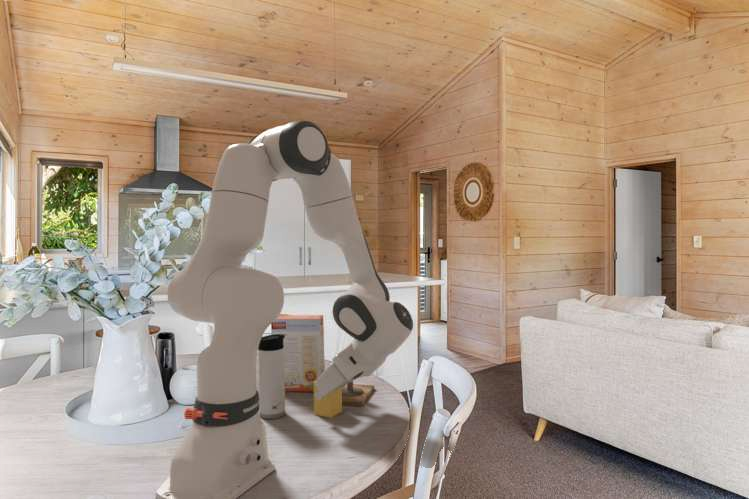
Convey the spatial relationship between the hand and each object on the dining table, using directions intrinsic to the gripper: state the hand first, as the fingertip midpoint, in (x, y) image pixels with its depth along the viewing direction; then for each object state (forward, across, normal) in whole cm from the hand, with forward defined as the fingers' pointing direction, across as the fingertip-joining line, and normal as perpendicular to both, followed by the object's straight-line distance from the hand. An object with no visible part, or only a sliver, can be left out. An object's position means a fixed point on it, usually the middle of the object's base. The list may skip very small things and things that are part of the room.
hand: (329, 391), depth 130 cm
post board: (+5, -13, +3) cm, 14 cm away
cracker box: (+17, -12, -9) cm, 22 cm away
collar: (+4, 0, +4) cm, 5 cm away
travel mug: (+12, +7, -4) cm, 15 cm away
